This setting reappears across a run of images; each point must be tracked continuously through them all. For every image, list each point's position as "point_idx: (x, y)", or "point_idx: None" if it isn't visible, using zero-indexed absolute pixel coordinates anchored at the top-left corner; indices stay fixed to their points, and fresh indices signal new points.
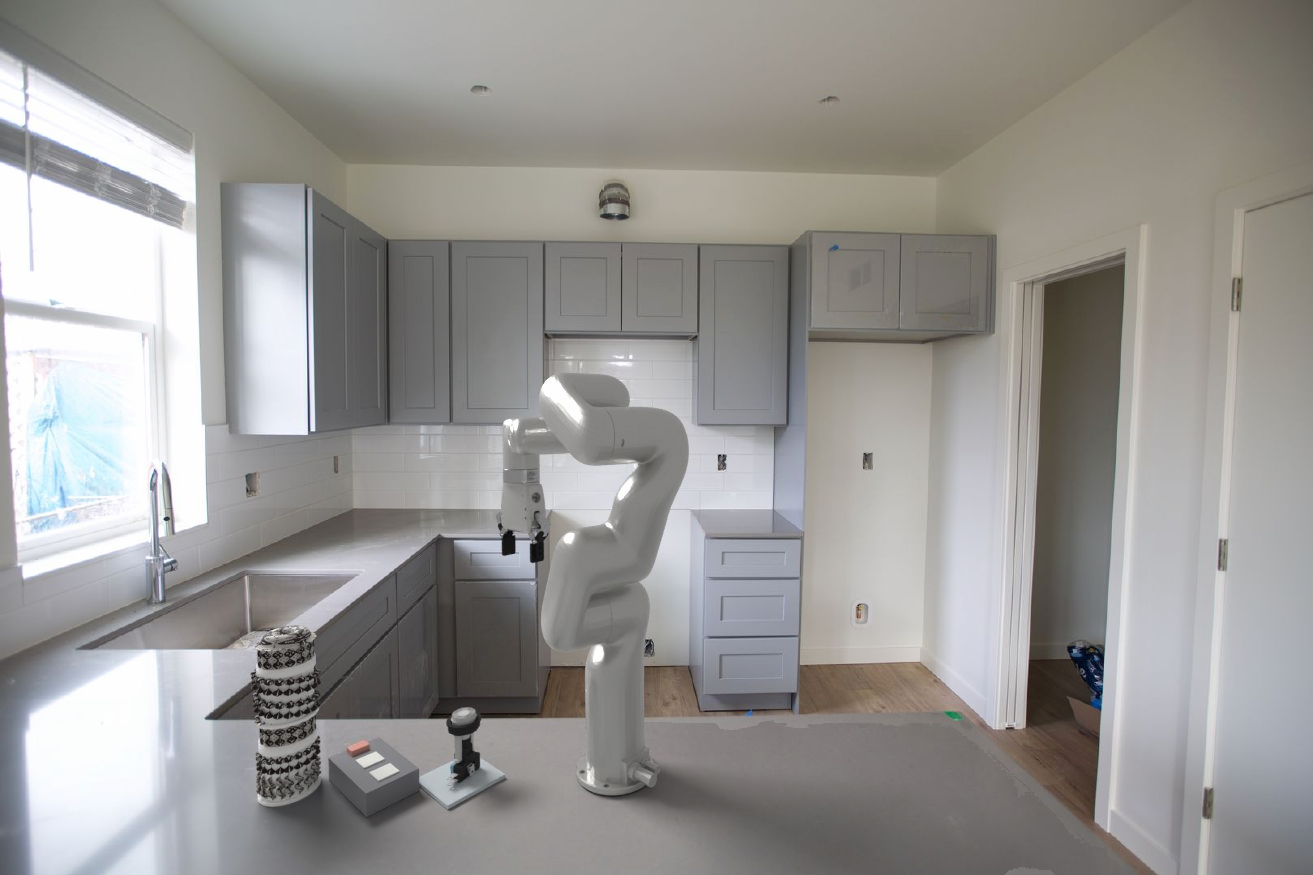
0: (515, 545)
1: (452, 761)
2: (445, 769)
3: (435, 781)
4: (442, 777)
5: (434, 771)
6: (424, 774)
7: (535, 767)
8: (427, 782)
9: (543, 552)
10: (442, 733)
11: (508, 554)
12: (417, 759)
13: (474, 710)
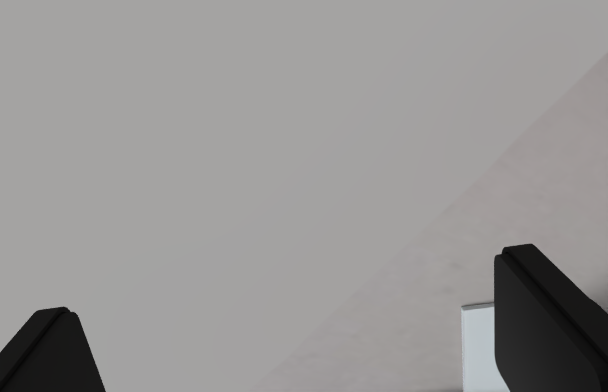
0: (36, 361)
1: (466, 342)
2: (479, 358)
3: (497, 378)
4: (496, 368)
5: (470, 371)
6: (466, 384)
7: (591, 242)
8: (490, 387)
9: (568, 286)
10: (348, 316)
11: (98, 377)
12: (401, 371)
13: None
